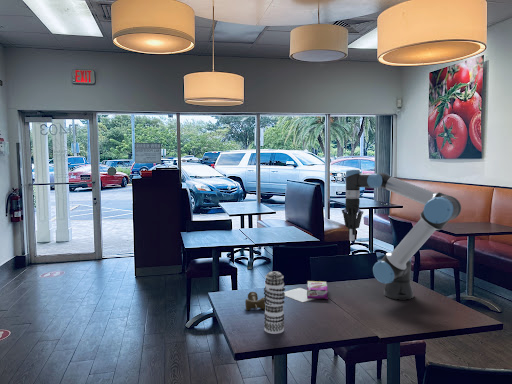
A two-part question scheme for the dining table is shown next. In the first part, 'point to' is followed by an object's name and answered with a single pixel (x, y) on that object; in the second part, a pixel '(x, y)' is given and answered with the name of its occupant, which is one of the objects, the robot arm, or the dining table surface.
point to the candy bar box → (317, 290)
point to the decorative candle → (274, 303)
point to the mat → (298, 295)
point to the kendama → (254, 301)
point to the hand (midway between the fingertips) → (352, 240)
